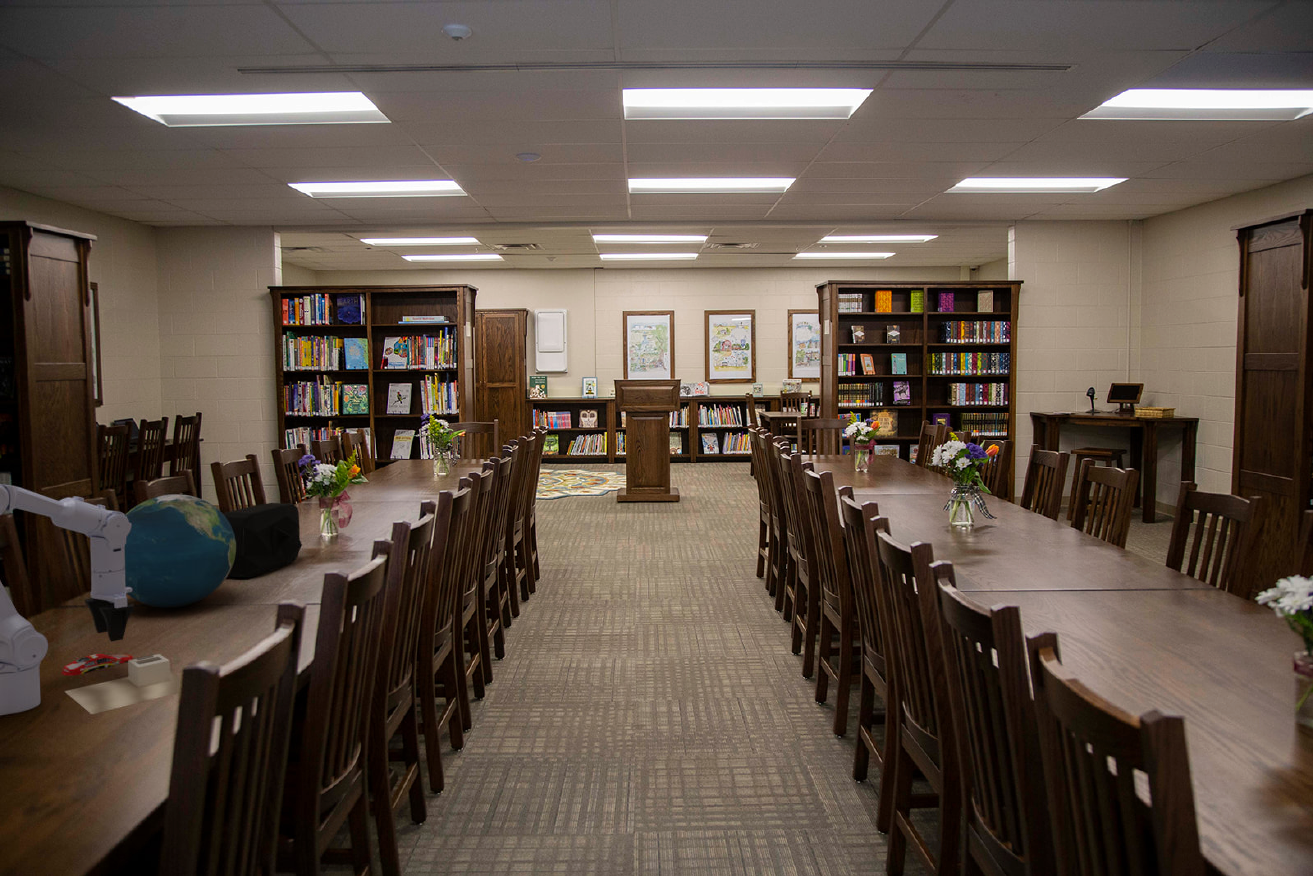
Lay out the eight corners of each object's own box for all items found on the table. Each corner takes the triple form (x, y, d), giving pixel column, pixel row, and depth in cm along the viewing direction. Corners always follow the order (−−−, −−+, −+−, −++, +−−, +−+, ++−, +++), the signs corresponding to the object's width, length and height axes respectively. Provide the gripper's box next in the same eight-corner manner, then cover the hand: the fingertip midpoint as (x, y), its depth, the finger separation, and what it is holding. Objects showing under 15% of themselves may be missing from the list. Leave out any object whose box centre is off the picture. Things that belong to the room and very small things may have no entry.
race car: (126, 662, 183) (126, 644, 183) (139, 667, 180) (139, 649, 180) (57, 679, 172) (57, 660, 172) (70, 685, 169) (69, 666, 169)
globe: (181, 626, 208) (179, 505, 206) (80, 616, 214) (76, 499, 212) (260, 596, 237) (259, 490, 235) (169, 588, 243) (167, 485, 241)
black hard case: (275, 559, 284) (275, 500, 282) (309, 561, 282) (308, 502, 280) (215, 580, 254) (214, 514, 252) (252, 582, 252) (251, 516, 251)
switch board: (92, 722, 151) (91, 695, 151) (64, 699, 161) (63, 673, 161) (198, 695, 165) (198, 670, 164) (167, 675, 175) (166, 651, 175)
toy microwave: (138, 687, 164) (137, 666, 164) (128, 680, 168) (128, 659, 167) (169, 680, 168) (169, 659, 168) (159, 673, 172) (159, 653, 171)
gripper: (143, 572, 167) (145, 639, 168) (118, 560, 177) (119, 624, 178) (102, 578, 162) (104, 647, 163) (78, 566, 171) (80, 631, 172)
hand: (110, 636), depth 170 cm, fingers open, 7 cm apart
